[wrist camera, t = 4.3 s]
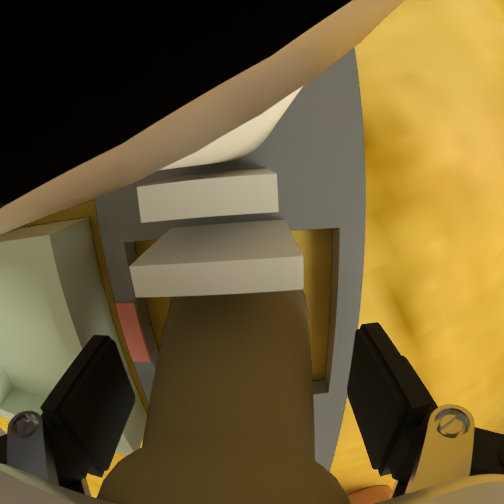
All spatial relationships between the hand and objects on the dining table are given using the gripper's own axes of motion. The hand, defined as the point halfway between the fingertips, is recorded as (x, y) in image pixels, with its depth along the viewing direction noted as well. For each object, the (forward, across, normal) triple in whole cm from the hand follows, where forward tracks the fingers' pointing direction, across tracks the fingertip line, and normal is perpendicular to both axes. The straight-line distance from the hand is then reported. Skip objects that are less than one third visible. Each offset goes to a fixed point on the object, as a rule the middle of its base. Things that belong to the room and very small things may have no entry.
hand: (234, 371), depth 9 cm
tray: (+3, +12, +1) cm, 13 cm away
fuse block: (+3, 0, 0) cm, 3 cm away
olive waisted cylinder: (+4, 0, 0) cm, 4 cm away
